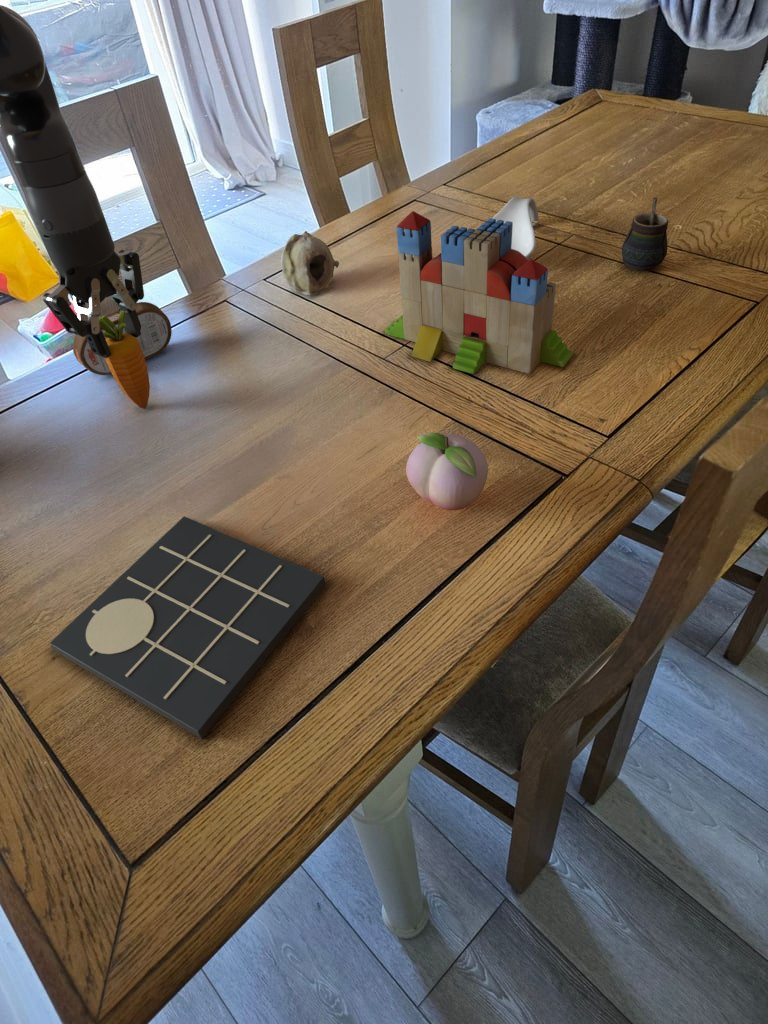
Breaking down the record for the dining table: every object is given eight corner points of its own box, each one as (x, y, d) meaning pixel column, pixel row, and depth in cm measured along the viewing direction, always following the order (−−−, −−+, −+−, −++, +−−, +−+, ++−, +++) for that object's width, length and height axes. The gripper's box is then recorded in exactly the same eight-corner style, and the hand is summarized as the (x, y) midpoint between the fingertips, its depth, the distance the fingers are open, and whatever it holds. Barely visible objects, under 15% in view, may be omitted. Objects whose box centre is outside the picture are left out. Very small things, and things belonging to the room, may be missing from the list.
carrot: (159, 394, 102) (125, 300, 92) (163, 412, 99) (129, 317, 88) (125, 403, 101) (86, 309, 90) (128, 422, 98) (89, 326, 87)
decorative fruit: (502, 500, 81) (507, 432, 74) (459, 541, 77) (460, 474, 70) (439, 468, 86) (438, 402, 79) (396, 505, 82) (390, 438, 75)
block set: (581, 345, 103) (600, 214, 89) (541, 395, 95) (555, 259, 81) (419, 304, 115) (414, 183, 101) (371, 345, 107) (359, 220, 94)
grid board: (55, 651, 71) (48, 642, 69) (187, 524, 82) (183, 515, 81) (202, 739, 62) (197, 731, 61) (326, 585, 74) (324, 575, 73)
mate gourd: (620, 276, 117) (630, 216, 110) (617, 255, 122) (627, 197, 115) (665, 276, 115) (678, 216, 108) (661, 256, 120) (673, 196, 113)
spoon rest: (524, 285, 117) (527, 243, 112) (457, 277, 121) (457, 237, 115) (555, 227, 132) (559, 188, 127) (495, 221, 136) (496, 183, 130)
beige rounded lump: (291, 306, 123) (261, 258, 116) (308, 276, 127) (280, 228, 120) (334, 297, 118) (306, 246, 111) (351, 266, 122) (324, 216, 116)
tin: (171, 340, 113) (155, 292, 107) (180, 347, 111) (165, 298, 105) (84, 378, 107) (62, 329, 101) (92, 386, 105) (70, 337, 99)
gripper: (93, 190, 86) (138, 314, 98) (-3, 237, 78) (59, 366, 90) (136, 198, 83) (177, 325, 95) (41, 248, 75) (99, 380, 87)
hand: (119, 344), depth 93 cm, fingers closed on carrot, 5 cm apart
